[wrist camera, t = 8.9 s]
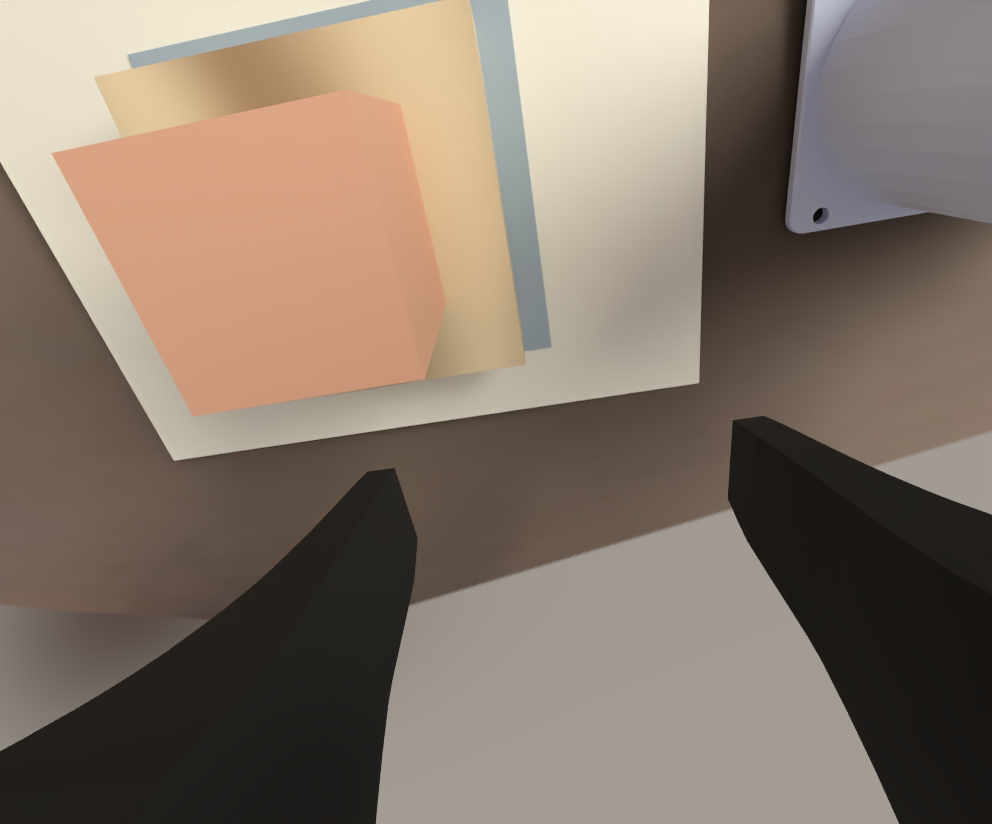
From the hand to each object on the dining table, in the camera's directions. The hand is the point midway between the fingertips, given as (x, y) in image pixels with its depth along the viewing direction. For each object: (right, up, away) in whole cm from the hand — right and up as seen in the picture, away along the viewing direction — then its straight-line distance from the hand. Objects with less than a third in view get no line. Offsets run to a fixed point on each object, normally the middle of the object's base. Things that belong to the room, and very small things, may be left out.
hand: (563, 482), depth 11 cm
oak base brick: (-6, +8, +6) cm, 11 cm away
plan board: (-6, +8, +7) cm, 12 cm away
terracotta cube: (-6, +6, +3) cm, 9 cm away
